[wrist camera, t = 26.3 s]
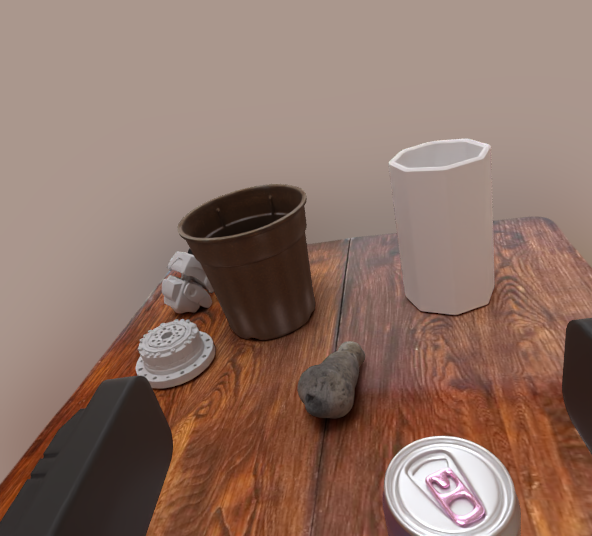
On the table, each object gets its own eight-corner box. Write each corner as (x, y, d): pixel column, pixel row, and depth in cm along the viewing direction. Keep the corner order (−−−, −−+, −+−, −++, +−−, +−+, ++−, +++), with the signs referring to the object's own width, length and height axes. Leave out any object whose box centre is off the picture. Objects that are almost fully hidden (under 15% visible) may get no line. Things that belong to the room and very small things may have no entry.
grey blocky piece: (207, 321, 72) (226, 258, 72) (169, 315, 67) (190, 247, 67) (186, 311, 76) (205, 251, 76) (150, 305, 71) (169, 241, 72)
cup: (440, 263, 69) (429, 135, 60) (513, 284, 60) (512, 140, 52) (387, 298, 64) (368, 164, 55) (459, 327, 55) (449, 174, 47)
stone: (347, 361, 55) (288, 340, 53) (376, 335, 52) (314, 312, 49) (358, 442, 48) (289, 423, 45) (391, 418, 45) (320, 396, 42)
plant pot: (246, 371, 56) (206, 251, 49) (197, 319, 69) (160, 218, 62) (353, 311, 63) (332, 196, 55) (290, 273, 76) (266, 177, 68)
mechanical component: (190, 394, 55) (229, 340, 63) (178, 364, 53) (220, 312, 61) (123, 387, 59) (168, 337, 67) (110, 359, 57) (157, 311, 65)
